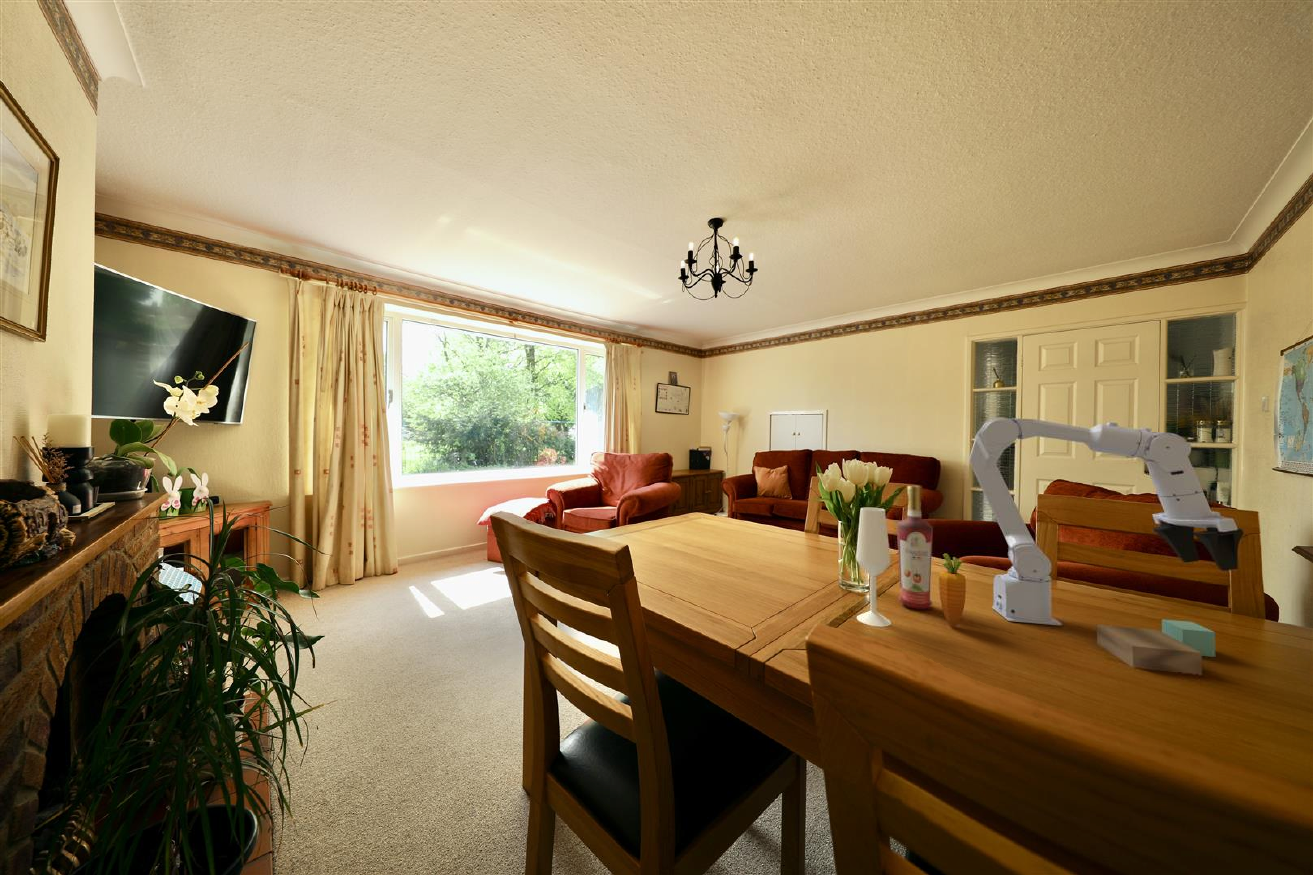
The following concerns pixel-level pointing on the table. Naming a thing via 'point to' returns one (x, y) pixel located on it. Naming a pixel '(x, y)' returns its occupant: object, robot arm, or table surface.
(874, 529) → the champagne flute
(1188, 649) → the walnut base block
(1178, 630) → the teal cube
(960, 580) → the carrot
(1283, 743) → the table surface
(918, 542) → the liquor
